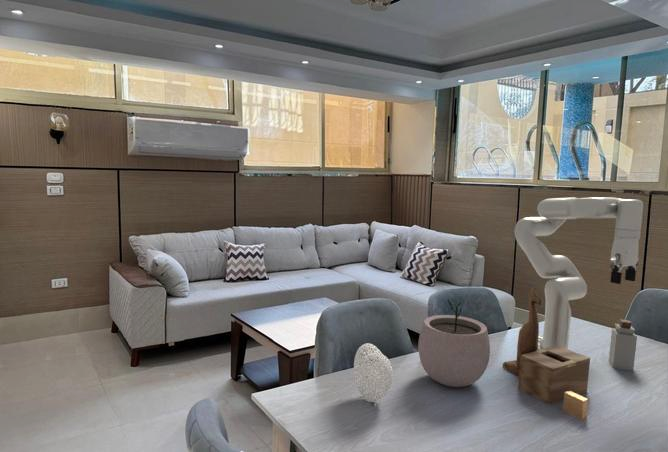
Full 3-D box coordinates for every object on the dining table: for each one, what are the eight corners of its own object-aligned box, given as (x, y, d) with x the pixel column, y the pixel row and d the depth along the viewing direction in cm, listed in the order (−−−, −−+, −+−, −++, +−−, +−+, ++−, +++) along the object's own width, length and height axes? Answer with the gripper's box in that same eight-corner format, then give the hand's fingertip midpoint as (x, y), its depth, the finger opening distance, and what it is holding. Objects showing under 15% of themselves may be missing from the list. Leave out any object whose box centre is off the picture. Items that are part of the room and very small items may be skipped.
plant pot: (499, 382, 157) (505, 299, 154) (467, 406, 140) (473, 313, 136) (438, 361, 173) (443, 285, 170) (403, 381, 156) (407, 297, 152)
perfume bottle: (628, 363, 177) (633, 319, 175) (633, 370, 171) (638, 324, 169) (608, 360, 179) (613, 317, 177) (613, 367, 173) (617, 322, 171)
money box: (517, 388, 153) (520, 355, 151) (554, 377, 163) (557, 345, 161) (549, 405, 142) (552, 368, 141) (586, 391, 152) (590, 357, 151)
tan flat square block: (562, 410, 139) (564, 392, 139) (567, 408, 141) (569, 390, 140) (581, 420, 134) (583, 401, 134) (586, 418, 135) (588, 399, 135)
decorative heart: (398, 414, 134) (401, 359, 132) (365, 418, 131) (367, 362, 129) (376, 386, 151) (378, 337, 149) (346, 389, 148) (348, 340, 146)
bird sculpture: (525, 382, 159) (536, 294, 155) (501, 367, 170) (510, 285, 165) (548, 377, 164) (559, 292, 159) (523, 363, 174) (532, 283, 170)
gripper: (628, 232, 166) (624, 277, 168) (603, 233, 157) (598, 281, 159) (651, 234, 159) (646, 281, 161) (626, 236, 150) (621, 286, 152)
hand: (622, 281), depth 160 cm, fingers open, 9 cm apart
